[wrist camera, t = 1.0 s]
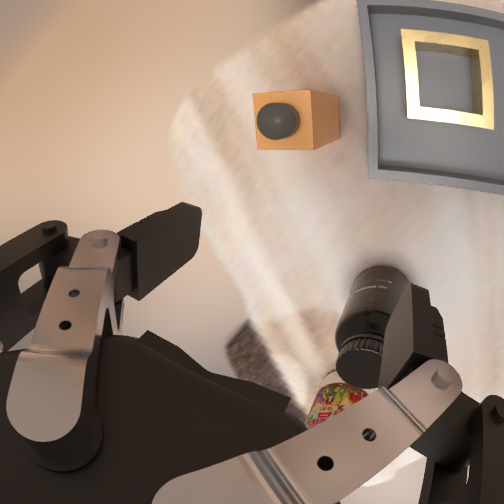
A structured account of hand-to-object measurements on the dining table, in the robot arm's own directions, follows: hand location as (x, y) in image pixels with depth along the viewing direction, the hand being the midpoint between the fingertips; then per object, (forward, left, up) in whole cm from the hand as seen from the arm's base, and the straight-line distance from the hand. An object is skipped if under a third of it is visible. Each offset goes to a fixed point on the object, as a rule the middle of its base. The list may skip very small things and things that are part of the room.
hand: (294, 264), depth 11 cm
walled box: (-10, -8, -21) cm, 24 cm away
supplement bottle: (-3, +13, -21) cm, 25 cm away
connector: (+4, -5, -21) cm, 22 cm away
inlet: (-8, -9, -21) cm, 24 cm away
